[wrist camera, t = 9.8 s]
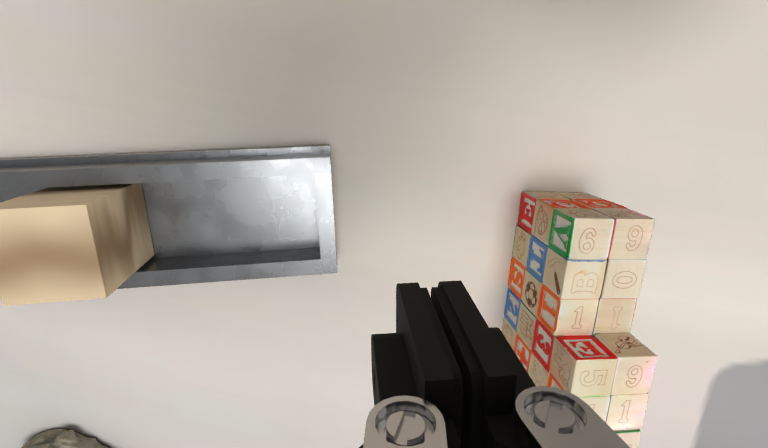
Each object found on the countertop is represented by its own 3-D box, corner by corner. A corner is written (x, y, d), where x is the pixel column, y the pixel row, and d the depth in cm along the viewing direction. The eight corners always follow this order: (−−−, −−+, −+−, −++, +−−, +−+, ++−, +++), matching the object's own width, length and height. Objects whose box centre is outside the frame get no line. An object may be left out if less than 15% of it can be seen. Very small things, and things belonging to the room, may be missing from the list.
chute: (-22, 159, 33) (-68, 167, 29) (329, 144, 36) (329, 150, 32) (13, 283, 36) (-25, 305, 32) (336, 260, 39) (337, 278, 35)
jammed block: (56, 184, 33) (-26, 210, 25) (140, 180, 34) (85, 204, 26) (74, 260, 35) (2, 305, 27) (154, 254, 35) (106, 297, 28)
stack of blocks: (519, 189, 39) (601, 228, 27) (585, 191, 40) (693, 230, 28) (490, 397, 45) (548, 504, 33) (549, 395, 45) (626, 499, 34)
